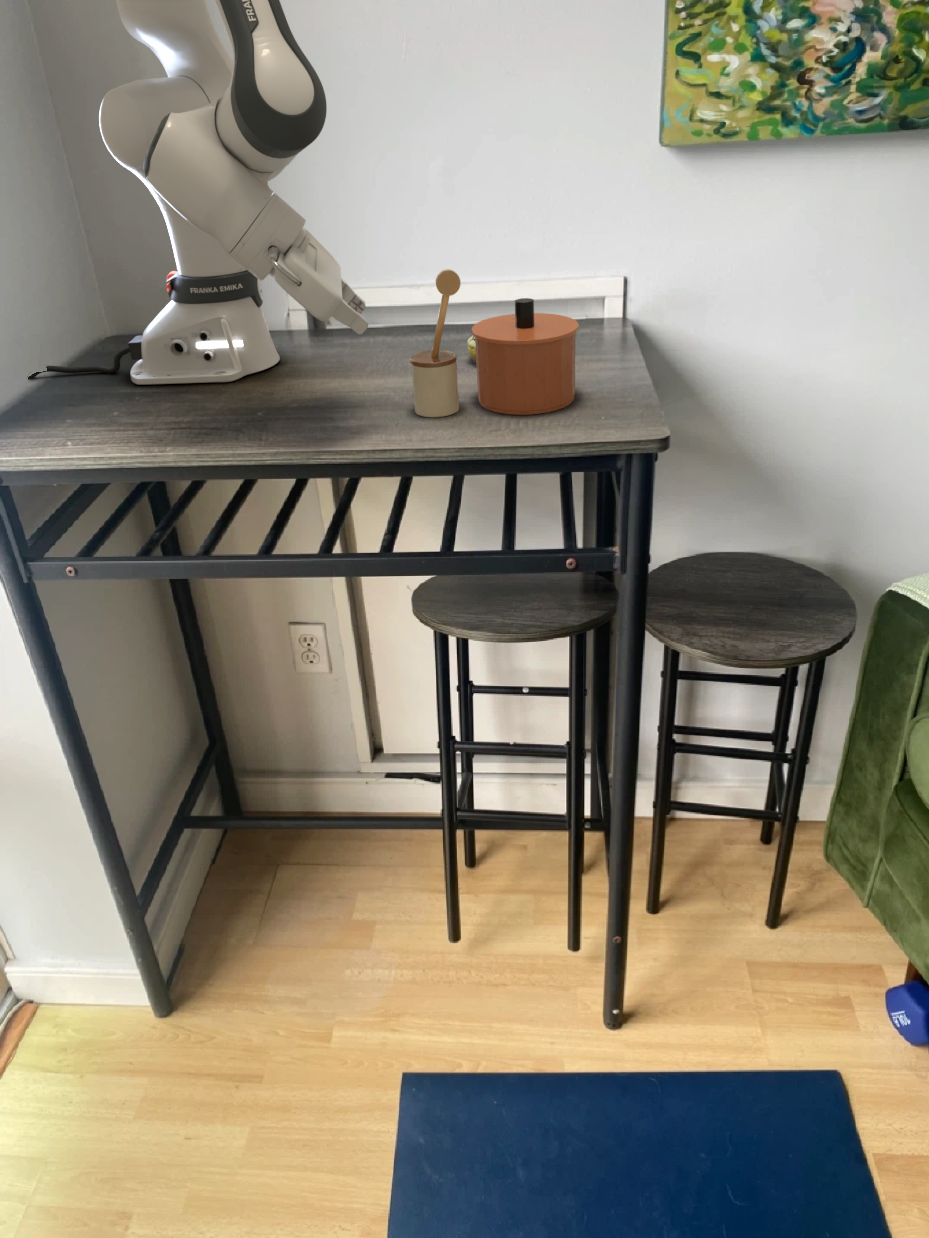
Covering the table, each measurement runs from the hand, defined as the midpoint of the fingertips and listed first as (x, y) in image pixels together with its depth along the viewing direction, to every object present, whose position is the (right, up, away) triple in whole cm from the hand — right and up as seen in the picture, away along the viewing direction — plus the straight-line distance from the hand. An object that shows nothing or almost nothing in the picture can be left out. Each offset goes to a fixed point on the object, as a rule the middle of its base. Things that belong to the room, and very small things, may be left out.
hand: (363, 319), depth 116 cm
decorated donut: (+18, +2, +25) cm, 31 cm away
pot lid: (+20, 0, +4) cm, 20 cm away
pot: (+21, -8, +9) cm, 24 cm away
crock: (+9, -10, +7) cm, 15 cm away
